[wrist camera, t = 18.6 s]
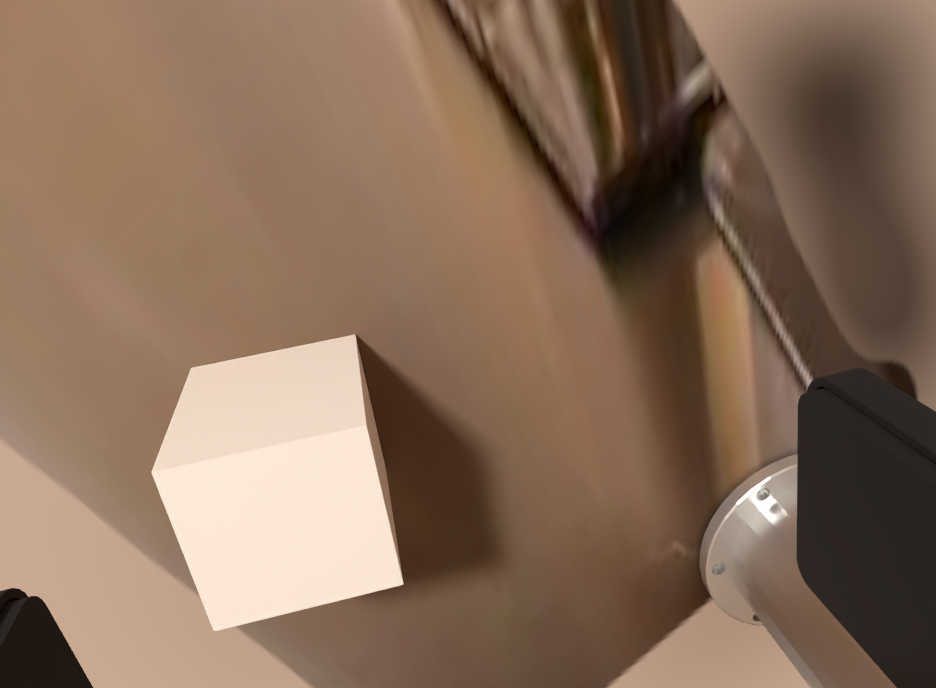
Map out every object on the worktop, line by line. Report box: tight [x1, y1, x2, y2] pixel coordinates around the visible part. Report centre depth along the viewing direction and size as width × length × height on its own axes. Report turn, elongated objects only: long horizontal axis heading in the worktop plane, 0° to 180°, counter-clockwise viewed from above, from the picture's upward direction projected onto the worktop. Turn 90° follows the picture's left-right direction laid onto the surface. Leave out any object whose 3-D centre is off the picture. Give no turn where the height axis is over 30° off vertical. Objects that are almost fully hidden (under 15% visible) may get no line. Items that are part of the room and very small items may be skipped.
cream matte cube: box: [151, 335, 404, 631], centre depth 31 cm, size 8×8×9 cm
